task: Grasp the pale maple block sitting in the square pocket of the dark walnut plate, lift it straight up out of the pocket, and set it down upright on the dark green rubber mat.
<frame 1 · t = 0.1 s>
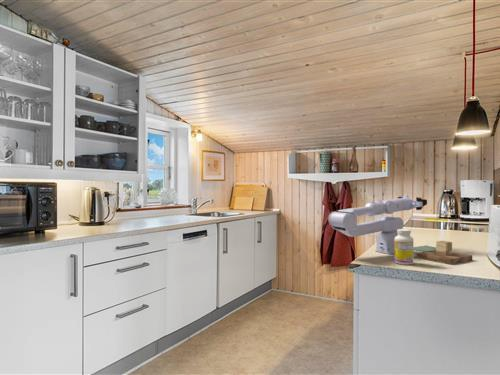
hand: (418, 201, 165), 22 cm above the countertop, tool horizontal, fingers open, 7 cm apart
supplement bottle: (403, 263, 134), on the countertop
rubber mat: (428, 249, 159), on the countertop
maple block: (444, 250, 140), in the pocket plate
pocket plate: (444, 259, 140), on the countertop
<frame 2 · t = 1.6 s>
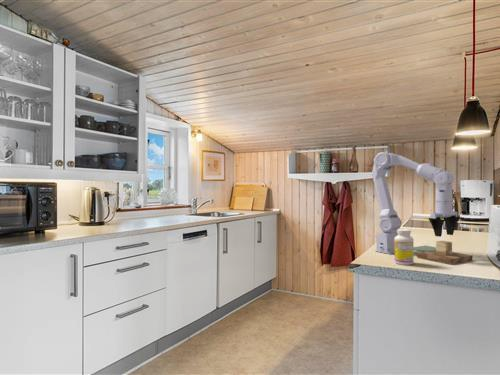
hand: (444, 235, 140), 9 cm above the countertop, tool pointing down, fingers open, 7 cm apart
nothing on the countertop moved.
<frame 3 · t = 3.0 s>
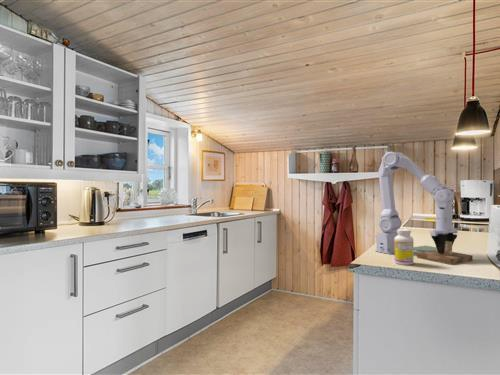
hand: (444, 252, 140), 3 cm above the countertop, tool pointing down, fingers closed on maple block, 4 cm apart
maple block: (444, 250, 140), in the pocket plate, touching gripper
everything else where it was.
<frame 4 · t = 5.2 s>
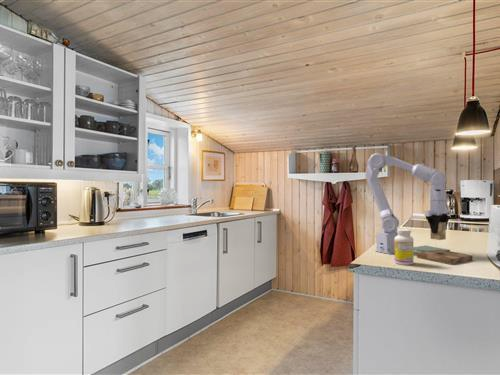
hand: (437, 232, 147), 10 cm above the countertop, tool pointing down, fingers closed on maple block, 4 cm apart
maple block: (438, 230, 147), point 10 cm above the countertop, touching gripper
everything else where it was.
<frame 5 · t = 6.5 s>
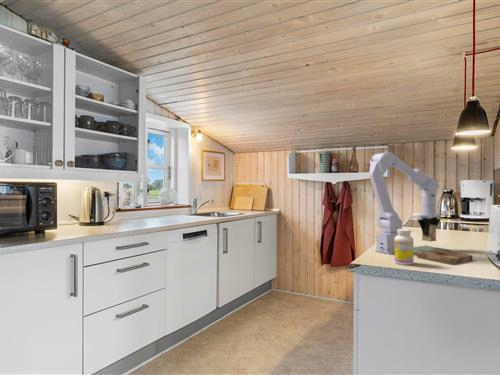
hand: (428, 234, 159), 7 cm above the countertop, tool pointing down, fingers closed on maple block, 4 cm apart
maple block: (429, 232, 159), point 8 cm above the countertop, touching gripper
everything else where it was.
when the fingers open (4 cm above the countertop, at t = 7.4 s): maple block stays where it is, resting on rubber mat.
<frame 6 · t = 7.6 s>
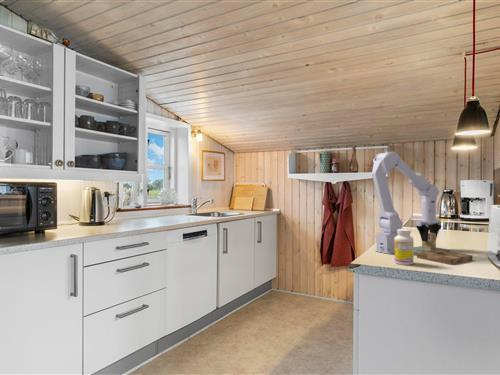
hand: (428, 240, 159), 4 cm above the countertop, tool pointing down, fingers open, 6 cm apart
maple block: (428, 241, 159), on the rubber mat
everything else where it was.
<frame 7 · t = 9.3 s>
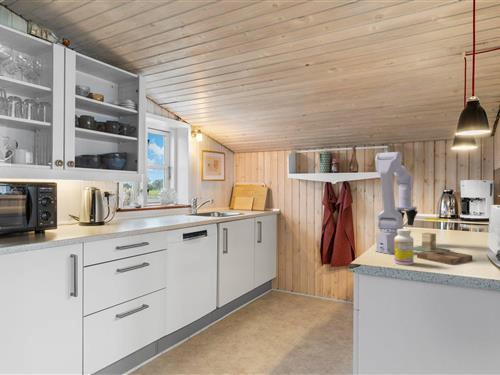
hand: (405, 225, 172), 9 cm above the countertop, tool pointing down, fingers open, 7 cm apart
nothing on the countertop moved.
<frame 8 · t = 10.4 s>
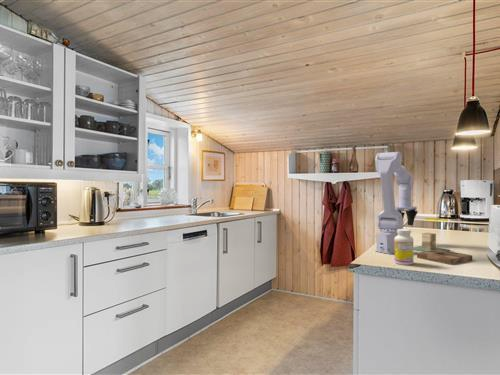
hand: (405, 225, 172), 9 cm above the countertop, tool pointing down, fingers open, 7 cm apart
nothing on the countertop moved.
at the end: maple block inside the target area on the rubber mat (0.0 cm from its centre), point 4.0 cm above the rubber mat's base; maple block tilted 0°; maple block touching rubber mat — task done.
